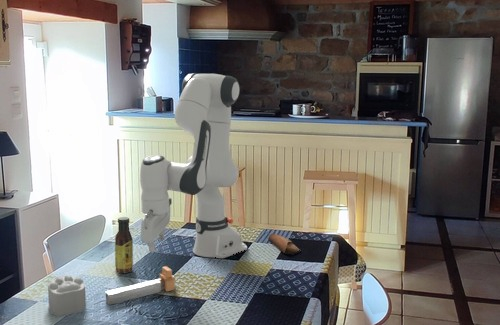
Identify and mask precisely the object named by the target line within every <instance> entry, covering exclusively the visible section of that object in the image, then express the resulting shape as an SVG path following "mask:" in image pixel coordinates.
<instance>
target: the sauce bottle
mask: <svg viewBox="0 0 500 325" xmlns="http://www.w3.org/2000/svg"><path fill="white" fill-rule="evenodd" d="M117 224H118V230H117V233H116V234H115V238H114V240H115V241H114V242H115V243H114V257H115V258H114V261H115V262H114V265H115V266H114V267H115V272H116V273H118V274H128V273H131V272H132V271H133V266H134V256H133V255H134V252H133V251H134V249H133V247H134V246H133V243H134V242H133V237H132V234H131V231H130V217H127V216H121V217H118V218H117Z"/></svg>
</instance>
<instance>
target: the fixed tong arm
mask: <svg viewBox="0 0 500 325" xmlns="http://www.w3.org/2000/svg"><path fill="white" fill-rule="evenodd" d="M172 276H174V277H175V275H173V274H172ZM175 278H176V277H175ZM156 281H160V282H161V291H162V290H165V280H164V279H163V278H160V279H159V278H156V279H152V280H148V281H143V282H140V283H136V284H132V285H127V286H123V287H119V288H114V289H110V290H107V291H105V303H106V304H107V305H109V304H108V294H107V293H111V292H115V291H119V290H123V289H127V288H132V287H136V286H140V285H144V284H148V283H152V282H156Z"/></svg>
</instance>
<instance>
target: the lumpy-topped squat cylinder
mask: <svg viewBox="0 0 500 325" xmlns="http://www.w3.org/2000/svg"><path fill="white" fill-rule="evenodd" d="M47 291H48V292H47V295H48V308H49V311H50V312H51V314H52V315H54V316H56V317H63V316H67V315H68V316H69V315H72V314H77V313H81V312H83V311H85V310H86V308H87V303H86V302H87V301H86V300H87V299H86V297H87V296H86V285H85V283H84V281H83V279H82V277H79V276H77V277H74V276H72V275H70V274H67V275H64V276H58V277H56V278H55V279H53V280H51V281H50V282H49V283H48V285H47Z"/></svg>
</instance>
